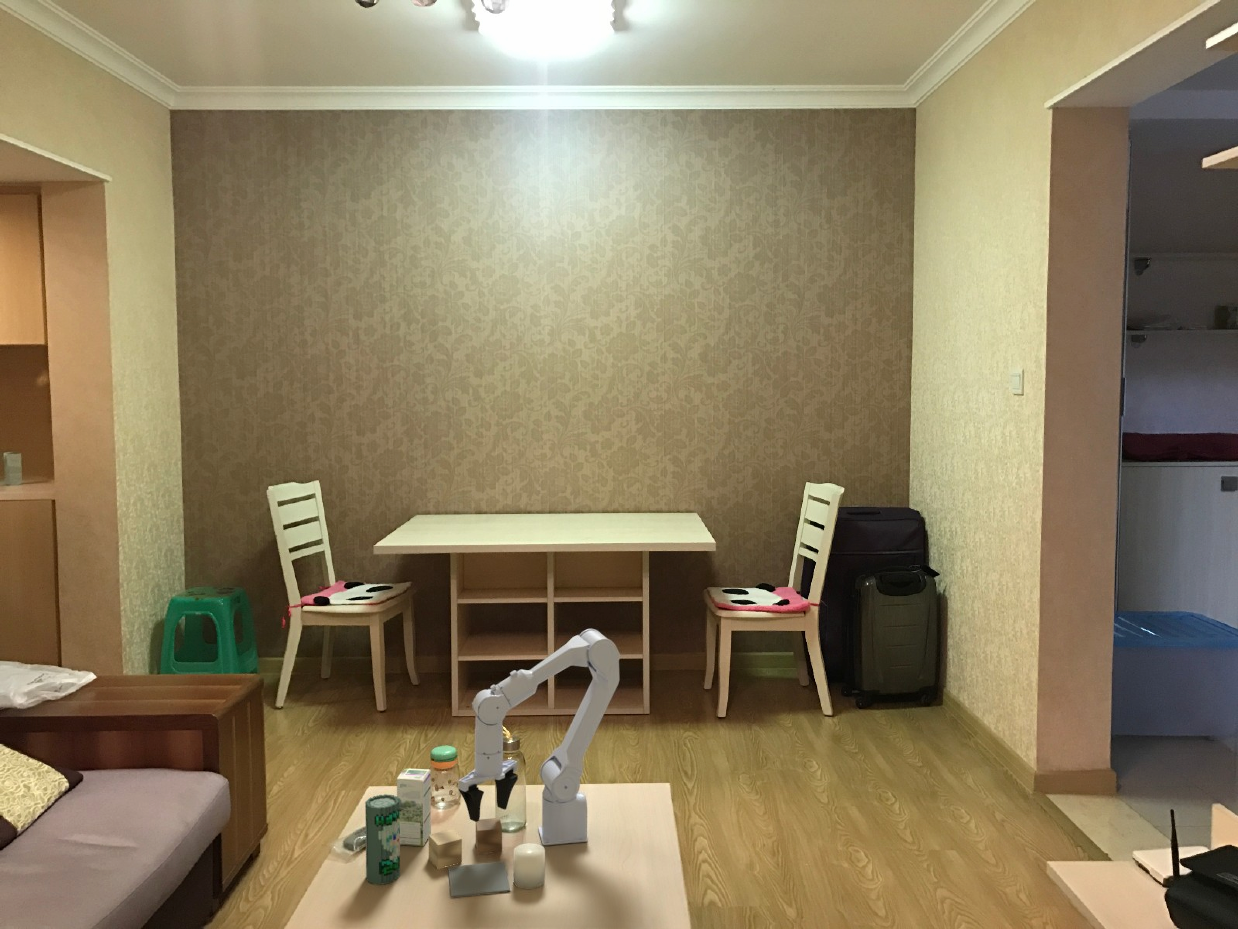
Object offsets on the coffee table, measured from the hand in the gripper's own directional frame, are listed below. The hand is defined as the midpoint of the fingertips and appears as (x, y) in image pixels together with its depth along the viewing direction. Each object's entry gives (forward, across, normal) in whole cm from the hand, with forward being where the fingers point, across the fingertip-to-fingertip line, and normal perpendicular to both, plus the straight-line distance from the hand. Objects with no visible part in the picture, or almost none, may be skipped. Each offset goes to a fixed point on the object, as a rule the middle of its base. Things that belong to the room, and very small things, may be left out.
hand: (488, 814), depth 197 cm
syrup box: (+7, -8, +14) cm, 18 cm away
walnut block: (+7, 0, 0) cm, 7 cm away
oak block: (+7, -10, +2) cm, 12 cm away
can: (+7, -21, +6) cm, 24 cm away
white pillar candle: (+7, -4, -16) cm, 18 cm away
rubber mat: (+7, -10, -8) cm, 15 cm away
